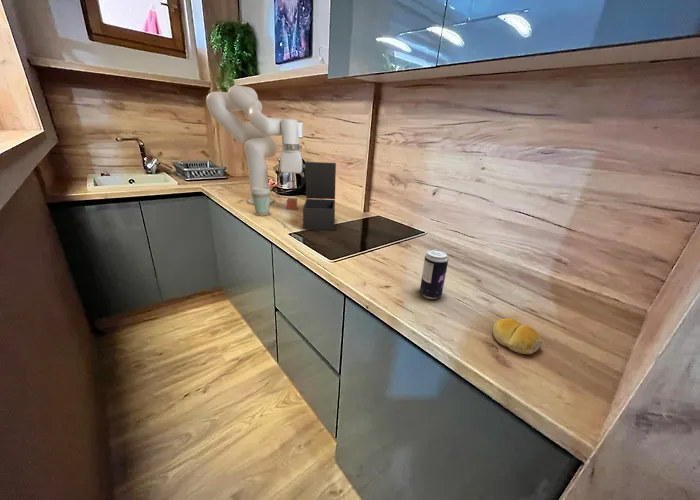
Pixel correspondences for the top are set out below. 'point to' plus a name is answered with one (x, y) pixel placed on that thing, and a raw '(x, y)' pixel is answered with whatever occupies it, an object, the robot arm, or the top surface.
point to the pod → (291, 203)
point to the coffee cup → (261, 200)
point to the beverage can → (434, 274)
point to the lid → (320, 180)
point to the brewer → (319, 214)
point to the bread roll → (516, 336)
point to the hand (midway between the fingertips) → (292, 185)
